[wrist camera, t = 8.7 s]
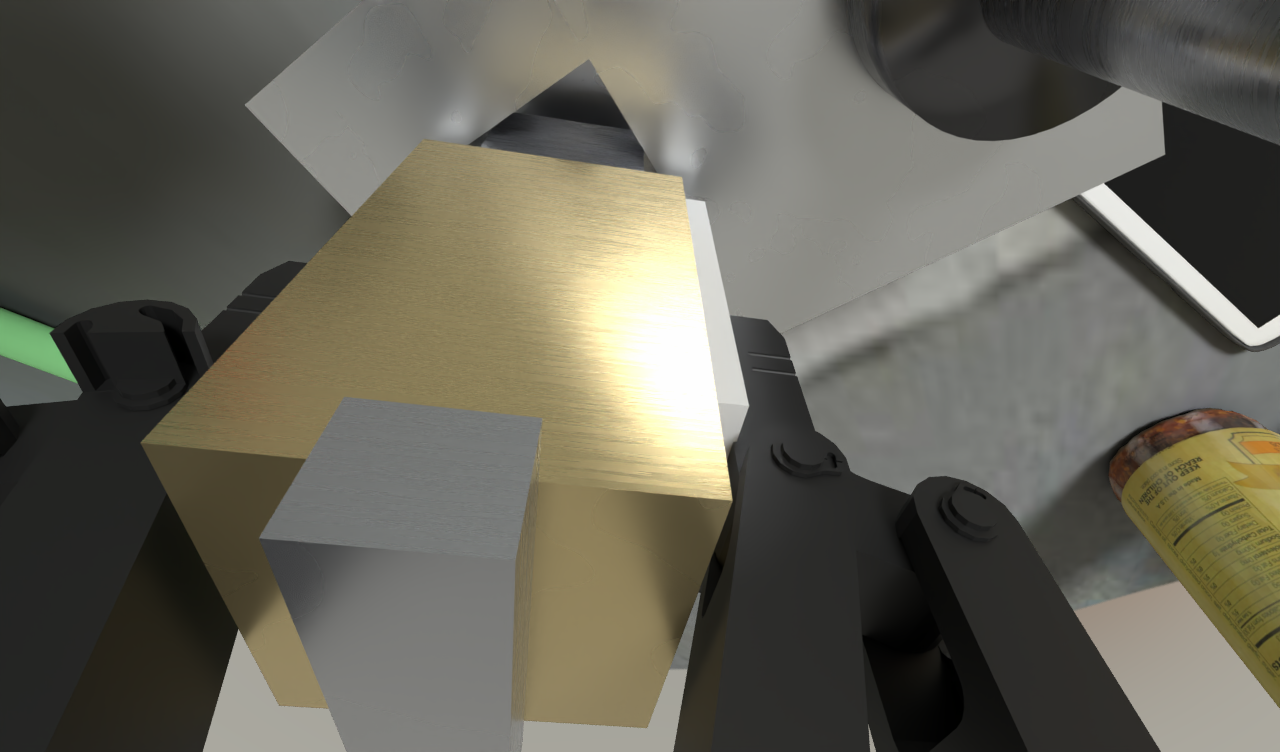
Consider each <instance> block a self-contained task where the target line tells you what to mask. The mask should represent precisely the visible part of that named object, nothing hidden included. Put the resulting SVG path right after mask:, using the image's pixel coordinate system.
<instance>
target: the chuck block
mask: <svg viewBox="0 0 1280 752" xmlns="http://www.w3.org/2000/svg"><path fill="white" fill-rule="evenodd" d="M1162 102H1165V103H1167V104H1170V105H1173V106H1176V107H1178V108H1181V109H1184V110H1186V111H1189V112H1192V113H1194V114H1197V115H1200V116H1202V117H1205V118H1208V119H1210V120H1213V121H1216V122H1219V123H1221V124H1224V125H1227V126H1229V127H1232V128H1235V129H1237V130H1240V131H1243V132H1245V133H1248V134H1251V135H1253V136H1256V137H1259V138H1262V139H1264V140H1267V141H1270V142H1272V143H1275V144H1278V145H1280V0H363V1H362V2H361V3H360V4H358V5H357V6H356V7H355V8H354V9H353V10H352V11H351V12H349V13H348V14H347V15H346V16H345V17H344V18H343V19H341V20H340V21H339V22H338V23H337V24H336V25H335V26H334V27H332V28H331V29H330V30H329V31H328V32H327V33H326V34H324V35H323V36H322V37H321V38H320V39H319V40H318V41H317V42H315V43H314V44H313V45H312V46H311V47H310V48H309V49H307V50H306V51H305V52H304V53H303V54H302V55H301V56H300V57H298V58H297V59H296V60H295V61H294V62H293V63H292V64H290V65H289V66H288V67H287V68H286V69H285V70H284V71H283V72H281V73H280V74H279V75H278V76H277V77H276V78H275V79H273V80H272V81H271V82H270V83H269V84H268V85H267V86H266V87H264V88H263V89H262V90H261V91H260V92H259V93H258V94H257V95H255V96H254V97H253V98H252V99H251V100H250V101H249V102H247V103H246V104H245V106H246V107H247V108H248V109H249V110H250V111H251V112H252V113H253V114H254V115H255V116H256V117H257V118H258V119H259V120H260V121H261V122H262V124H263V125H264V126H265V127H266V128H267V129H268V130H269V131H270V132H271V133H272V134H273V135H274V136H275V137H276V138H277V139H278V140H279V141H280V142H281V143H282V144H283V145H284V146H285V147H286V148H287V149H288V151H289V152H290V153H291V154H292V155H293V156H294V157H295V158H296V159H297V160H298V161H299V162H300V163H301V164H302V165H303V166H304V167H305V168H306V169H307V170H308V171H309V172H310V173H311V174H312V175H313V176H314V177H315V179H316V180H317V181H318V182H319V183H320V184H321V185H322V186H323V187H324V188H325V189H326V190H327V191H328V192H329V193H330V194H331V195H332V196H333V197H334V198H335V199H336V200H337V201H338V202H339V203H340V204H341V206H342V207H343V208H344V209H345V210H346V211H347V212H348V213H349V214H350V215H351V216H352V215H353V214H354V213H355V212H356V211H357V210H358V209H359V208H360V207H361V206H362V205H363V203H364V202H365V201H366V200H367V199H368V198H369V197H370V196H371V195H372V194H373V193H374V192H375V191H376V190H377V188H378V187H379V186H380V185H381V184H382V183H383V182H384V181H385V180H386V179H387V178H388V177H389V176H390V174H391V173H392V172H393V171H394V170H395V169H396V168H397V167H398V166H399V165H400V164H401V163H402V162H403V161H404V159H405V158H406V157H407V156H408V155H409V154H410V153H411V152H412V151H413V150H414V149H415V148H416V147H417V146H418V144H419V143H420V142H421V141H422V140H423V139H429V140H436V141H443V142H449V143H456V144H463V145H470V146H476V147H481V145H482V144H483V142H484V141H485V139H486V138H487V136H488V135H489V133H490V132H491V130H492V129H493V127H494V126H495V125H497V124H498V123H499V122H501V121H502V120H504V119H505V118H506V117H508V116H509V115H511V114H512V113H513V112H516V113H522V114H529V115H535V116H542V117H548V118H555V119H561V120H568V121H574V122H581V123H587V124H594V125H600V126H607V127H613V128H620V129H626V130H632V131H633V133H634V135H635V136H636V138H637V140H638V141H639V143H640V145H641V146H642V148H643V150H644V171H645V172H652V173H659V174H665V175H672V176H679V177H682V180H683V186H684V193H685V199H691V200H698V201H705V204H706V209H707V213H708V218H709V223H710V227H711V232H712V236H713V241H714V246H715V250H716V255H717V260H718V264H719V269H720V274H721V278H722V283H723V287H724V292H725V297H726V301H727V306H728V311H729V315H732V316H740V317H748V318H756V319H764V320H768V321H769V322H770V323H771V324H772V325H773V326H774V327H775V328H776V330H777V331H778V332H779V333H780V334H781V333H783V332H785V331H787V330H790V329H792V328H794V327H796V326H798V325H800V324H802V323H805V322H807V321H809V320H811V319H813V318H815V317H817V316H820V315H822V314H824V313H826V312H828V311H830V310H833V309H835V308H837V307H839V306H841V305H843V304H845V303H848V302H850V301H852V300H854V299H856V298H858V297H860V296H863V295H865V294H867V293H869V292H871V291H873V290H875V289H878V288H880V287H882V286H884V285H886V284H888V283H890V282H893V281H895V280H897V279H899V278H901V277H903V276H905V275H908V274H910V273H912V272H914V271H916V270H918V269H920V268H923V267H925V266H927V265H929V264H931V263H933V262H936V261H938V260H940V259H942V258H944V257H946V256H948V255H951V254H953V253H955V252H957V251H959V250H961V249H963V248H966V247H968V246H970V245H972V244H974V243H976V242H978V241H981V240H983V239H985V238H987V237H989V236H991V235H993V234H996V233H998V232H1000V231H1002V230H1004V229H1006V228H1008V227H1011V226H1013V225H1015V224H1017V223H1019V222H1021V221H1024V220H1026V219H1028V218H1030V217H1032V216H1034V215H1036V214H1039V213H1041V212H1043V211H1045V210H1047V209H1049V208H1051V207H1054V206H1056V205H1058V204H1060V203H1062V202H1064V201H1066V200H1069V199H1071V198H1073V197H1075V196H1077V195H1079V194H1081V193H1084V192H1086V191H1088V190H1090V189H1092V188H1094V187H1096V186H1099V185H1101V184H1103V183H1105V182H1107V181H1109V180H1112V179H1114V178H1116V177H1118V176H1120V175H1122V174H1124V173H1127V172H1129V171H1131V170H1133V169H1135V168H1137V167H1139V166H1142V165H1144V164H1146V163H1148V162H1150V161H1152V160H1154V159H1157V158H1159V157H1161V156H1163V155H1165V145H1164V129H1163V114H1162Z"/></svg>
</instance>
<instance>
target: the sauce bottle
mask: <svg viewBox="0 0 1280 752" xmlns="http://www.w3.org/2000/svg"><path fill="white" fill-rule="evenodd" d="M1108 476H1109V478H1110V484H1111V486H1112V489H1113V491H1114V493H1115V495H1116V497H1117V499H1118V500H1119V501H1120V502H1121V503H1122V506H1123V508H1124V510H1125V512H1126V514H1127V515H1128V517H1129V518H1130V519H1131V520H1132V521H1133V523H1134V524H1135V525H1136V526H1137V528H1138V529H1139V530H1140V531H1141V533H1142V534H1143V535H1144V536H1145V538H1146V539H1147V540H1148V541H1149V543H1150V544H1151V545H1152V547H1153V548H1154V549H1155V551H1156V552H1157V553H1158V554H1159V556H1160V557H1161V558H1162V560H1163V561H1164V562H1165V563H1166V565H1167V566H1168V567H1169V568H1170V570H1171V571H1172V572H1173V574H1174V575H1175V576H1176V577H1177V579H1178V580H1179V581H1180V582H1181V584H1182V585H1183V586H1184V588H1185V589H1186V590H1187V591H1188V593H1189V594H1190V595H1191V596H1192V598H1193V599H1194V600H1195V602H1196V603H1197V604H1198V605H1199V607H1200V608H1201V609H1202V610H1203V612H1204V613H1205V614H1206V615H1207V616H1208V618H1209V619H1210V621H1211V622H1212V623H1213V624H1214V626H1215V627H1216V628H1217V629H1218V631H1219V632H1220V633H1221V634H1222V636H1223V637H1224V638H1225V640H1226V641H1227V642H1228V643H1229V645H1230V646H1231V647H1232V648H1233V650H1234V651H1235V652H1236V654H1237V655H1238V656H1239V657H1240V659H1241V660H1242V661H1243V662H1244V664H1245V665H1246V666H1247V668H1248V669H1249V670H1250V671H1251V673H1252V674H1253V675H1254V676H1255V678H1256V679H1257V680H1258V681H1259V683H1260V684H1261V685H1262V687H1263V688H1264V689H1265V690H1266V692H1267V693H1268V694H1269V695H1270V697H1271V698H1272V699H1273V700H1274V702H1275V703H1276V704H1277V706H1278V707H1279V708H1280V435H1279V434H1277V433H1275V432H1273V431H1270V430H1268V429H1267V428H1265V427H1264V426H1263V425H1261V424H1260V423H1259V422H1257V421H1256V420H1253V419H1251V418H1249V417H1247V416H1245V415H1242V414H1239V413H1236V412H1234V411H1224V410H1222V409H1213V408H1205V409H1199V410H1193V411H1191V412H1189V413H1187V414H1184V415H1179V416H1176V417H1173V418H1170V419H1167V420H1163V421H1161V422H1159V423H1157V424H1155V425H1154V426H1152V427H1150V428H1148V429H1146V430H1144V431H1142V432H1141V433H1139V434H1138V435H1137V436H1134V437H1133V438H1132V439H1131V440H1130V441H1129V442H1128V443H1127V444H1126V445H1125V446H1123V447H1121V448H1120V450H1119V451H1118V452H1117V454H1116V455H1115V456H1114V457H1113V459H1112V460H1111V461H1110V468H1109V474H1108Z"/></svg>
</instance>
